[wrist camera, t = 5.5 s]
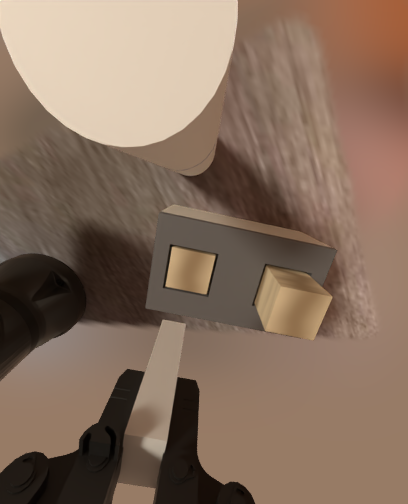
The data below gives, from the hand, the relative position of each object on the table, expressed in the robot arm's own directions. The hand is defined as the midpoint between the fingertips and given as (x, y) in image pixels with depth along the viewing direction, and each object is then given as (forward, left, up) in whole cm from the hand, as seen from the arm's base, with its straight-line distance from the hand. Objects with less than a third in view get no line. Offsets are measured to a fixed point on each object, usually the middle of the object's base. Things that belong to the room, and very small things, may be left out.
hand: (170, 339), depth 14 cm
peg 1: (0, 0, -19) cm, 19 cm away
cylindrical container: (-3, +14, -22) cm, 26 cm away
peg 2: (+11, 0, -14) cm, 18 cm away
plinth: (+6, 0, -22) cm, 22 cm away
